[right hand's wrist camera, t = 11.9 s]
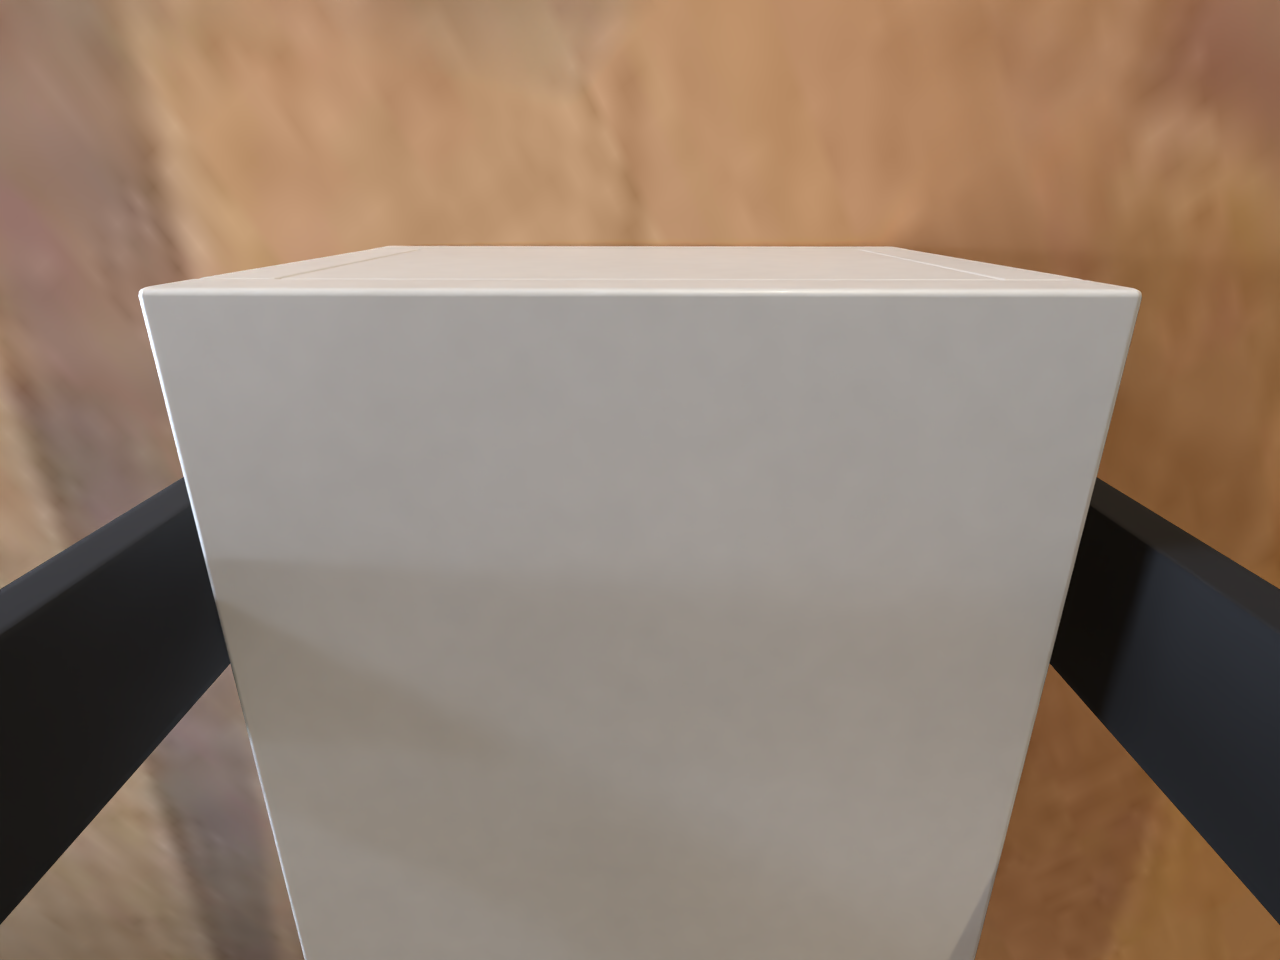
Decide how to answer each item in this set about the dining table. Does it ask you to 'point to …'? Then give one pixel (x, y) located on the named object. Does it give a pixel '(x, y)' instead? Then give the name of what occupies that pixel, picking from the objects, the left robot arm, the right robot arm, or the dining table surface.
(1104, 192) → the dining table surface
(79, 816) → the right robot arm
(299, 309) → the cabinet
